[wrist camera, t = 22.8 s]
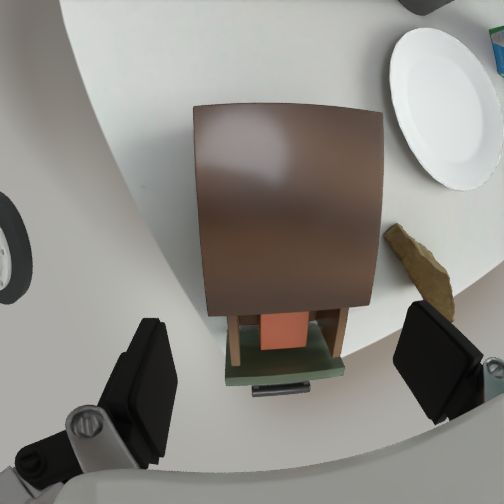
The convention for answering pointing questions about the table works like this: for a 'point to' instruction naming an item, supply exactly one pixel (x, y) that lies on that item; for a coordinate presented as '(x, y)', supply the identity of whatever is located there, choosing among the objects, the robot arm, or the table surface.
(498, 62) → the milk carton
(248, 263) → the cabinet
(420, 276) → the rock
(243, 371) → the drawer
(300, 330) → the block
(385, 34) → the table surface
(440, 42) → the plate
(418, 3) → the bottle
